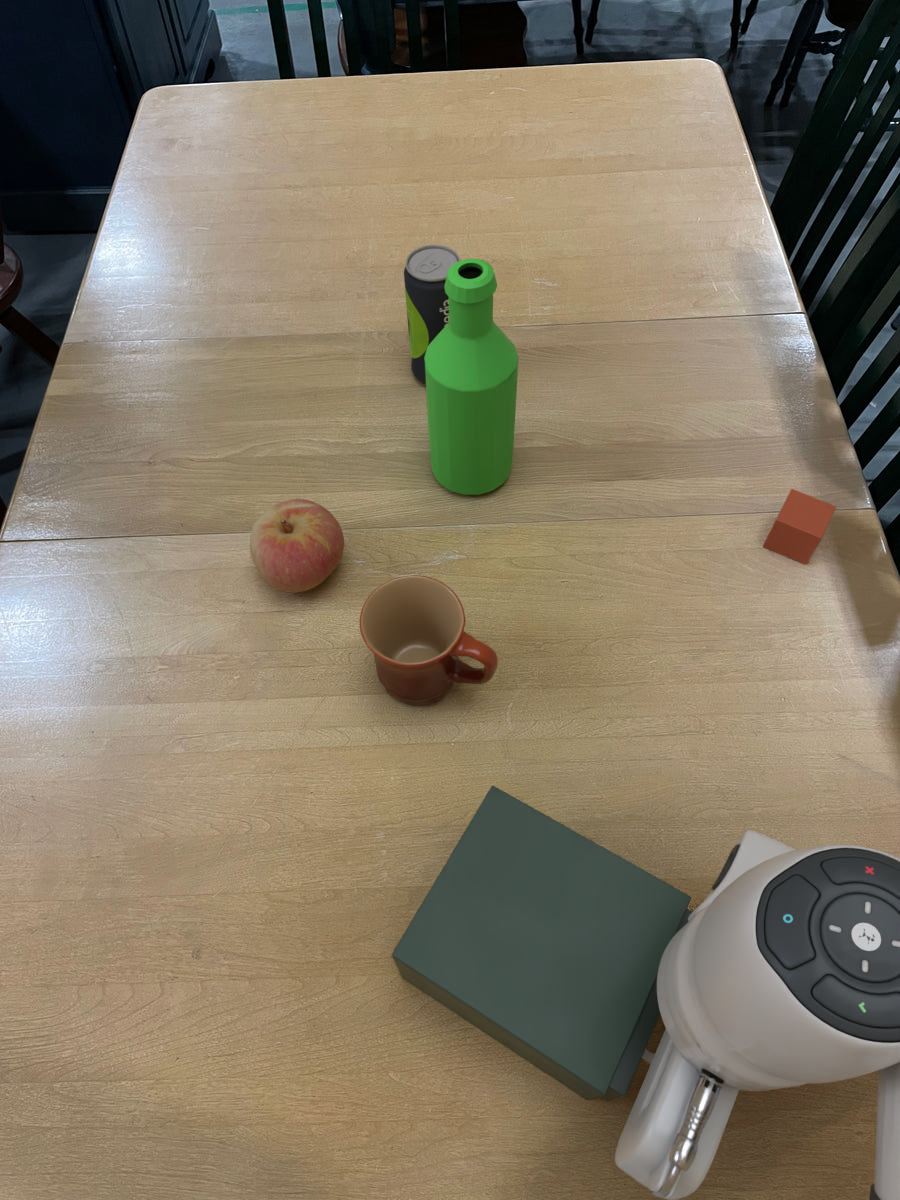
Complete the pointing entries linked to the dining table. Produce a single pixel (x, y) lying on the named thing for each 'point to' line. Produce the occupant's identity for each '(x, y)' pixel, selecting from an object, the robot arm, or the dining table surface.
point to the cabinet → (542, 941)
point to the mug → (421, 640)
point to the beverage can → (426, 299)
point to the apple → (296, 545)
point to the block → (799, 526)
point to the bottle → (471, 386)
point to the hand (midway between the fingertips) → (687, 1021)
